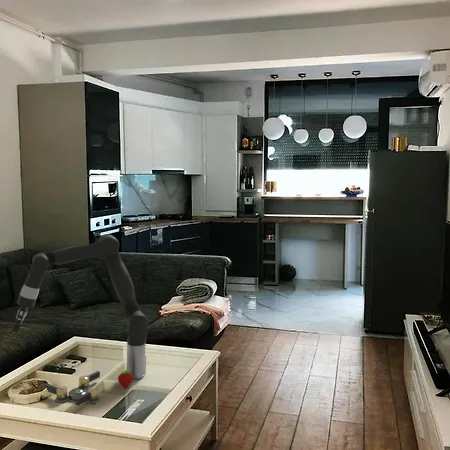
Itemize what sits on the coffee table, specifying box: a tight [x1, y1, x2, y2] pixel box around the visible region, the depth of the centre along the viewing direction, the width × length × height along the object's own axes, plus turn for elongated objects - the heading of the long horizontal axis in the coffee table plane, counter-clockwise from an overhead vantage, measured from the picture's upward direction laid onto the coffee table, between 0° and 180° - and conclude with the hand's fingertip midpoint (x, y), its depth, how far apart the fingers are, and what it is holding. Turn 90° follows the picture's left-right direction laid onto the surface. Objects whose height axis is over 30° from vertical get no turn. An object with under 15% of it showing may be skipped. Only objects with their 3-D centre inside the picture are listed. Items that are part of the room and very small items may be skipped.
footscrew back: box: [78, 370, 101, 388], centre depth 239 cm, size 12×5×5 cm, turn 152°
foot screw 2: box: [74, 386, 99, 407], centre depth 221 cm, size 12×5×5 cm, turn 152°
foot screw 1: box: [44, 383, 68, 400], centre depth 226 cm, size 12×5×5 cm, turn 62°
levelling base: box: [55, 385, 100, 405], centre depth 227 cm, size 20×18×3 cm
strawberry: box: [117, 369, 134, 389], centre depth 238 cm, size 6×8×10 cm
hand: (16, 329), depth 227 cm, fingers open, 8 cm apart
